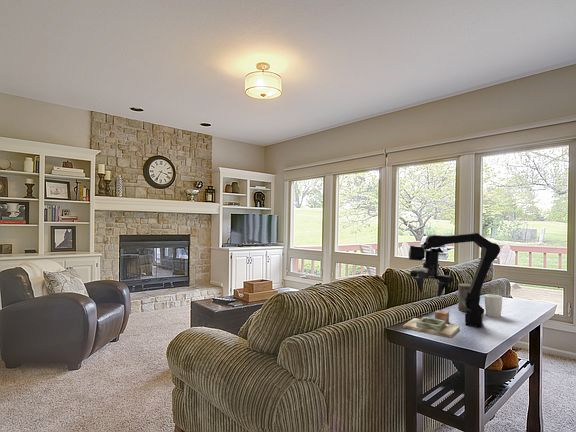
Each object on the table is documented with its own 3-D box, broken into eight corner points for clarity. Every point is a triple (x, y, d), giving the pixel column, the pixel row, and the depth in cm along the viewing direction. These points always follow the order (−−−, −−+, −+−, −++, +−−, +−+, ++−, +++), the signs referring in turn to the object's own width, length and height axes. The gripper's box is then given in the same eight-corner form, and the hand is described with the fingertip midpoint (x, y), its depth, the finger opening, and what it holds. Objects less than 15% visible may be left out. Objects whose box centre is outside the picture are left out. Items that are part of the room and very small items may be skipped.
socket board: (459, 329, 157) (459, 322, 157) (450, 337, 146) (451, 329, 146) (414, 320, 169) (414, 313, 169) (403, 327, 158) (403, 320, 158)
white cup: (480, 314, 181) (480, 294, 181) (491, 312, 184) (492, 293, 184) (494, 318, 174) (494, 298, 174) (506, 316, 177) (506, 296, 177)
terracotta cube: (448, 322, 168) (448, 311, 168) (445, 324, 164) (446, 313, 164) (437, 320, 171) (437, 309, 171) (434, 322, 167) (434, 312, 167)
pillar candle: (481, 313, 182) (481, 284, 183) (460, 312, 184) (461, 283, 184) (475, 308, 192) (475, 281, 192) (455, 307, 194) (456, 280, 194)
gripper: (404, 259, 169) (402, 291, 169) (441, 265, 154) (439, 300, 154) (417, 258, 176) (415, 289, 176) (454, 264, 161) (452, 298, 161)
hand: (429, 294), depth 167 cm, fingers open, 9 cm apart
